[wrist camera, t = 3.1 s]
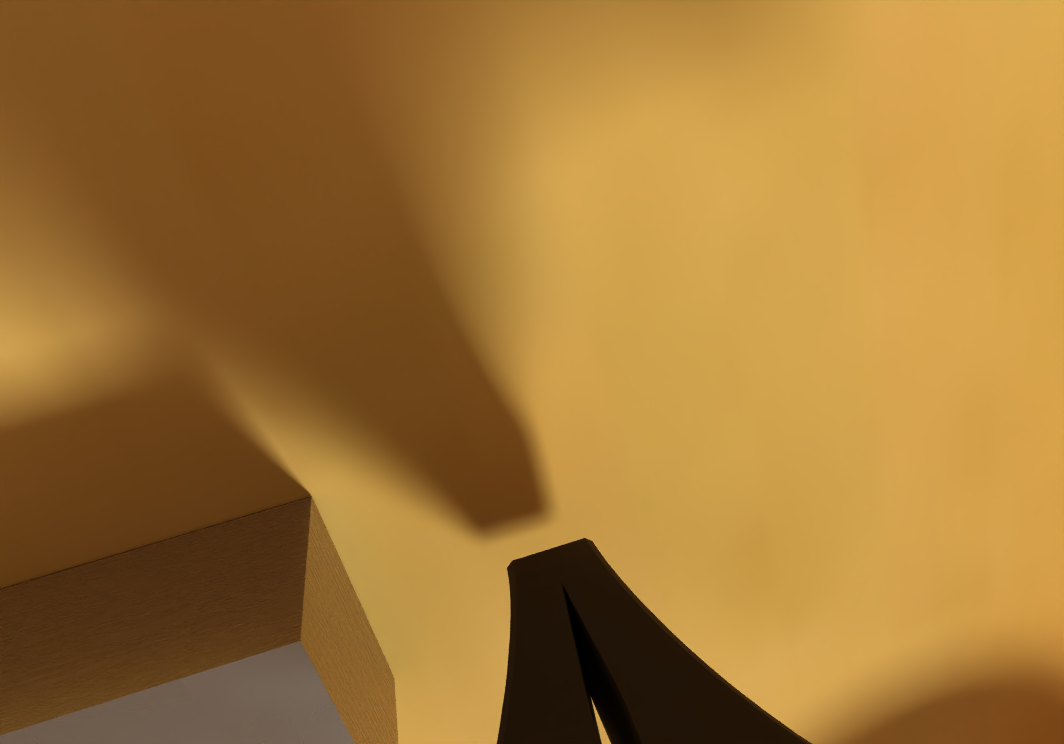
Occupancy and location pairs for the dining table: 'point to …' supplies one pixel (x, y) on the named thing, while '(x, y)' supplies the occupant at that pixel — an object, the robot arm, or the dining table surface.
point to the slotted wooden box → (198, 644)
